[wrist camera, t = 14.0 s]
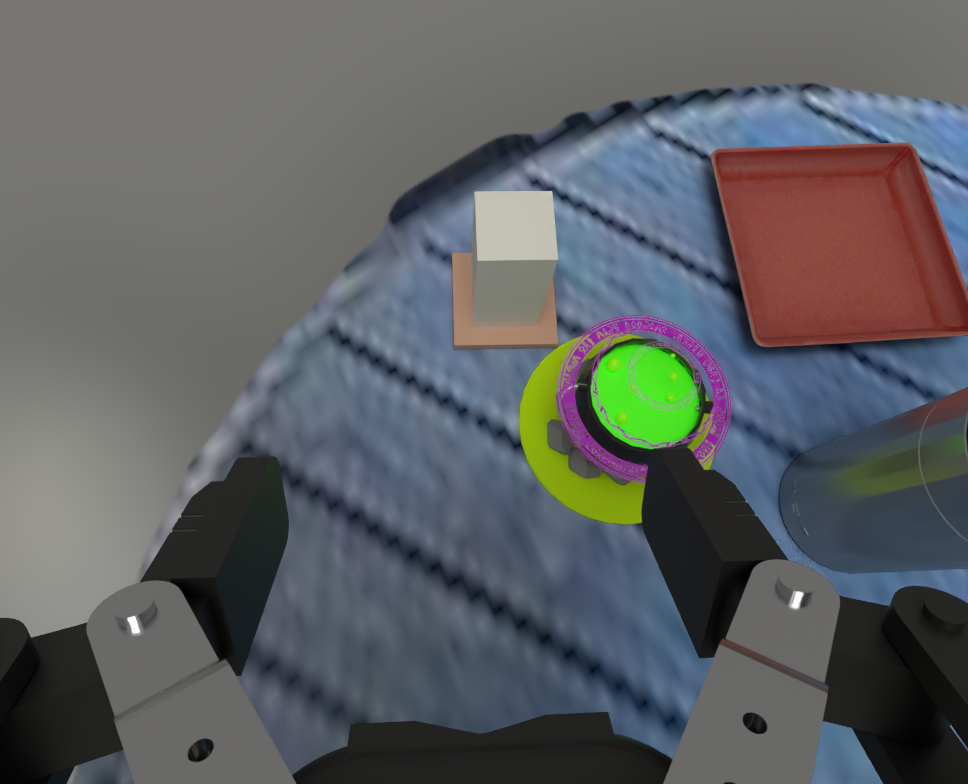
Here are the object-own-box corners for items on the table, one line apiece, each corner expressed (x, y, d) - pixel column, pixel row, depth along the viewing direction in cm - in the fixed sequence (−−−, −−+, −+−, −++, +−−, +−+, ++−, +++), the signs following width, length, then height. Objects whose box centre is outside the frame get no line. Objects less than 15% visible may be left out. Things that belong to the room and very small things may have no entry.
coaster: (549, 257, 50) (551, 252, 49) (556, 347, 48) (558, 343, 47) (452, 258, 50) (452, 252, 49) (454, 349, 47) (454, 345, 46)
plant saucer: (694, 172, 54) (709, 146, 51) (889, 165, 55) (915, 139, 52) (736, 363, 48) (756, 347, 45) (951, 350, 50) (985, 334, 46)
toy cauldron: (503, 504, 44) (518, 477, 33) (533, 317, 49) (555, 243, 38) (709, 542, 44) (789, 527, 33) (720, 351, 48) (793, 285, 38)
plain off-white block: (533, 267, 49) (552, 189, 39) (537, 326, 47) (558, 259, 38) (470, 268, 49) (474, 189, 39) (473, 327, 47) (477, 260, 37)
